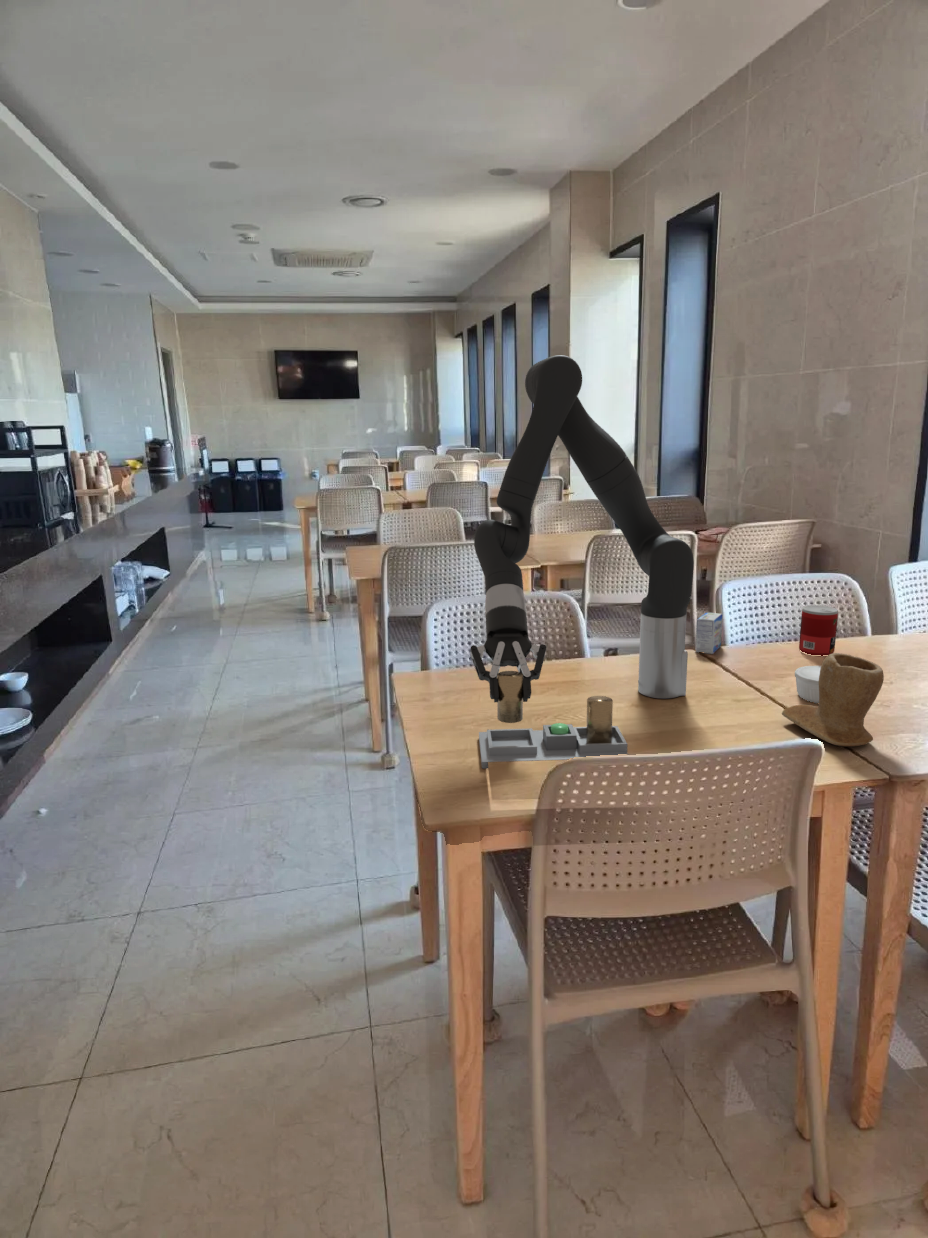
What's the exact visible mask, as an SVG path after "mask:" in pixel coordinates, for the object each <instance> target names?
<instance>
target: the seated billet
mask: <svg viewBox="0 0 928 1238" xmlns="http://www.w3.org/2000/svg"><path fill="white" fill-rule="evenodd" d="M613 703H614V701H613V699H612V698H611V697H609V696H606V695H592V696H589V697H588V698H587V699H586V727H587V736H586V743H587V744H598V743H612V726H613V709H614V708H613V705H614V704H613Z"/></svg>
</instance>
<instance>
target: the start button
mask: <svg viewBox="0 0 928 1238" xmlns="http://www.w3.org/2000/svg"><path fill="white" fill-rule="evenodd" d="M550 725H551V734H568V725H566V723H563V722H561V723H560V722H558V723H557V722H556V723H553V724H550Z"/></svg>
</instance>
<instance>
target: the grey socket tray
mask: <svg viewBox="0 0 928 1238" xmlns="http://www.w3.org/2000/svg"><path fill="white" fill-rule="evenodd" d="M565 724H566V723H565ZM551 725H552V724H543V725H542V730H539V729H537V730H536V729H535V730H534V729H533V728H532V727H531V728H501V729H486V731H479V732H478V741H479V751H480V761H481V769H489V763H497V762H499V763H501V762H530V761H531V762H534V761H564V760H565V761H567V759H570V758H574V757H586V756H600V755H618V754H628V755H629V753H628V742H627V740H626V739H625V737H624V736H623V734H622V731H621V730H620V728H619V726H618V725H612V743H598V744H587V743H586V736H587V726H574V725H573V724H572V723H569V724H568V723H567V724H566V725H568V734H551Z"/></svg>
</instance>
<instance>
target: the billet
mask: <svg viewBox="0 0 928 1238" xmlns="http://www.w3.org/2000/svg"><path fill="white" fill-rule="evenodd" d="M497 679H498V693H499V700H498V702H496V705H497V706H496V707H497V713H496V714H497V720H498V721H499V722H502V723H505V724H516V723H519V722H521V721H523V717H524V715H523V714H524V713H523V712H524V709H523V708H524V706H523V705H524V702H523V674H522V673H520V672H518V670H516V671H515V670H505V671H499V673H498V674H497Z"/></svg>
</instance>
